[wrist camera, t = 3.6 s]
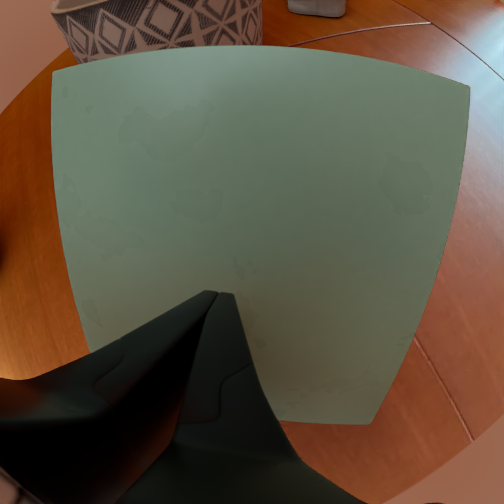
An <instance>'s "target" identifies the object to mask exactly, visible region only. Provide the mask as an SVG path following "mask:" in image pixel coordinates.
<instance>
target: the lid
mask: <svg viewBox="0 0 504 504" xmlns="http://www.w3.org/2000/svg"><path fill="white" fill-rule="evenodd" d="M469 105H470V87H469V86H467V85H465V84H462V83H459V82H456V81H453V80H451V79H448V78H445V77H441V76H438V75H435V74H432V73H429V72H425V71H422V70H418V69H415V68H411V67H407V66H403V65H399V64H395V63H391V62H387V61H382V60H377V59H373V58H367V57H362V56H357V55H351V54H345V53H338V52H331V51H324V50H315V49H306V48H295V47H281V46H259V45H218V46H197V47H183V48H172V49H162V50H154V51H146V52H139V53H133V54H127V55H121V56H116V57H111V58H106V59H101V60H96V61H92V62H87V63H83V64H79V65H75V66H71V67H68V68H64V69H60V70H57V71H54V72H53V76H52V96H51V141H52V162H53V175H54V187H55V196H56V204H57V212H58V219H59V226H60V232H61V238H62V244H63V250H64V255H65V260H66V265H67V269H68V274H69V279H70V283H71V287H72V291H73V295H74V299H75V303H76V307H77V310H78V314H79V318H80V321H81V325H82V328H83V331H84V334H85V338H86V341H87V344H88V347H89V350H90V353H92V352H94V351H96V350H98V349H100V348H102V347H104V346H106V345H108V344H109V343H111V342H113V341H115V340H117V339H120V337H122V336H124V335H126V334H127V333H129V332H131V331H133V330H135V329H136V328H138V327H140V326H142V325H143V324H145V323H147V322H149V321H151V320H152V319H154V318H156V317H158V316H159V315H161V314H163V313H165V312H167V311H168V310H170V309H172V308H174V307H175V306H177V305H179V304H181V303H182V302H184V301H186V300H188V299H190V298H191V297H193V296H195V295H197V294H198V293H200V292H202V291H204V290H212V291H218V292H219V293H220V292H227V293H233V294H234V295H235V299H236V303H237V306H238V310H239V313H240V317H241V320H242V324H243V327H244V331H245V335H246V338H247V341H248V345H249V348H250V352H251V355H252V359H253V362H254V365H255V368H256V372H257V375H258V378H259V381H260V384H261V386H262V389H263V391H264V394H265V396H266V398H267V400H268V402H269V404H270V406H271V408H272V410H273V412H274V414H275V416H276V418H277V420H281V421H291V422H304V423H320V424H351V425H369V424H371V422H372V420H373V419H374V417H375V415H376V413H377V412H378V410H379V408H380V406H381V404H382V402H383V401H384V399H385V397H386V395H387V393H388V391H389V389H390V387H391V385H392V383H393V381H394V379H395V377H396V375H397V373H398V371H399V369H400V367H401V365H402V362H403V360H404V358H405V356H406V354H407V351H408V349H409V347H410V345H411V342H412V340H413V338H414V335H415V333H416V330H417V328H418V325H419V323H420V320H421V318H422V315H423V312H424V310H425V307H426V304H427V302H428V299H429V296H430V293H431V290H432V287H433V284H434V281H435V278H436V275H437V272H438V269H439V266H440V263H441V259H442V256H443V252H444V249H445V245H446V242H447V238H448V234H449V230H450V226H451V222H452V218H453V213H454V209H455V204H456V200H457V195H458V190H459V185H460V179H461V173H462V167H463V161H464V154H465V146H466V138H467V129H468V118H469Z"/></svg>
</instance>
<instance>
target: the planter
mask: <svg viewBox="0 0 504 504" xmlns="http://www.w3.org/2000/svg"><path fill="white" fill-rule="evenodd" d="M50 12H51V14H52V16H53V18H54V20H55V22H56V24H57V26H58V28H59V29H60V31H61V33H62V35H63V37H64V39H65V40H66V42H67V44H68V46H69V48H70V50H71V51H72V53H73V55H74V57H75V59H76V60H77V62H78V64H83V63H87V62H92V61H96V60H101V59H106V58H111V57H116V56H121V55H127V54H133V53H139V52H146V51H154V50H162V49H172V48H183V47H197V46H218V45H259V46H262V0H55V1H54V2H53V3H52V5H51V7H50Z"/></svg>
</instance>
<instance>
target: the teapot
mask: <svg viewBox="0 0 504 504" xmlns="http://www.w3.org/2000/svg"><path fill="white" fill-rule="evenodd" d="M345 3H346V0H288V8H289V10H290V11H291V12H294V13H298V14H306V15H320V16H326V17H340V16H342V15H344V13H345Z"/></svg>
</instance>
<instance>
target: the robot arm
mask: <svg viewBox="0 0 504 504" xmlns="http://www.w3.org/2000/svg"><path fill="white" fill-rule="evenodd" d="M0 504H367V503H365V502H363V501H361V500H359V499H357V498H356V497H354V496H353V495H351V494H349V493H348V492H346V491H345V490H343V489H342V488H340V487H339V486H337V485H335V484H334V483H332V482H331V481H330V480H328V479H327V478H325V477H324V476H322V475H321V474H319V473H318V472H316V471H315V470H314V469H312V468H311V467H309V466H308V465H307V464H306V463H305V462H304V461H303V460H302V459H301V458H300V457H299V456H298V454H297V453H296V451H295V450H294V448H293V447H292V445H291V443H290V442H289V440H288V438H287V436H286V434H285V433H284V431H283V429H282V427H281V425H280V423H279V421H278V420H277V418H276V416H275V414H274V412H273V410H272V408H271V406H270V404H269V402H268V400H267V398H266V396H265V394H264V391H263V389H262V386H261V384H260V381H259V378H258V375H257V372H256V368H255V365H254V362H253V359H252V355H251V352H250V348H249V345H248V341H247V338H246V335H245V331H244V327H243V324H242V320H241V317H240V313H239V310H238V306H237V303H236V299H235V295H234V294H233V293H227V292H220V293H219V292H218V291H212V290H204V291H202V292H200V293H198V294H197V295H195V296H193V297H191V298H190V299H188V300H186V301H184V302H182V303H181V304H179V305H177V306H175V307H174V308H172V309H170V310H168V311H167V312H165V313H163V314H161V315H159V316H158V317H156V318H154V319H152V320H151V321H149V322H147V323H145V324H143V325H142V326H140V327H138V328H136V329H135V330H133V331H131V332H129V333H127V334H126V335H124V336H122V337H120V339H117V340H115V341H113V342H111V343H109V344H108V345H106V346H104V347H102V348H100V349H98V350H96V351H94V352H92V353H90V354H88V355H86V356H84V357H81V358H79V359H77V360H75V361H73V362H70V363H68V364H66V365H63V366H61V367H59V368H56V369H54V370H52V371H49V372H47V373H44V374H42V375H40V376H37V377H34V378H31V379H26V380H11V379H5V378H0ZM427 504H443V503H427Z"/></svg>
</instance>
